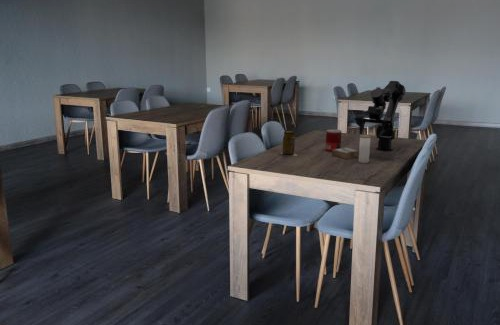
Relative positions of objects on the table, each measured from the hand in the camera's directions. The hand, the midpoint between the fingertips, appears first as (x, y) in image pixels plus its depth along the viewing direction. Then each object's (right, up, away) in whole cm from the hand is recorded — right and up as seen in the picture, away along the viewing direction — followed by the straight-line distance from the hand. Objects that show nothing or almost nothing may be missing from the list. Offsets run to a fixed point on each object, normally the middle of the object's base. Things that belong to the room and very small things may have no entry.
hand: (369, 134), depth 227 cm
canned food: (-14, -7, +22) cm, 27 cm away
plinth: (-10, -10, +9) cm, 17 cm away
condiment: (-39, -10, +12) cm, 42 cm away
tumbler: (-3, -13, -2) cm, 14 cm away
